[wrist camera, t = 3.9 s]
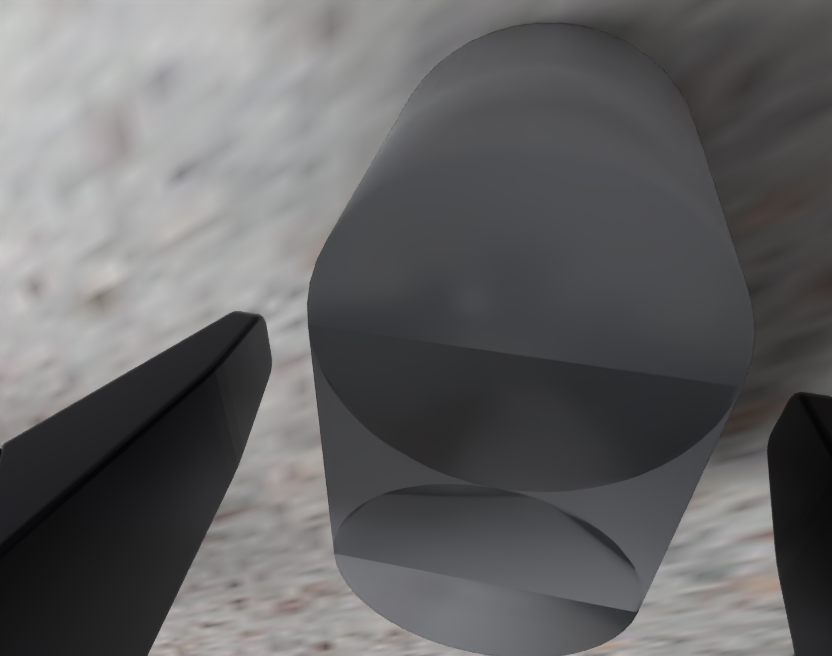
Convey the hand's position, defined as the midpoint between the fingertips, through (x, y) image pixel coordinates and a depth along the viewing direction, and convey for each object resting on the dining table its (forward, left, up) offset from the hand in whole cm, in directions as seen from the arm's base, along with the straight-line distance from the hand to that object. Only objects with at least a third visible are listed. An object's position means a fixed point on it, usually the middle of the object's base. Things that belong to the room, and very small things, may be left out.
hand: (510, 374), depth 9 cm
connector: (0, 0, -2) cm, 2 cm away
